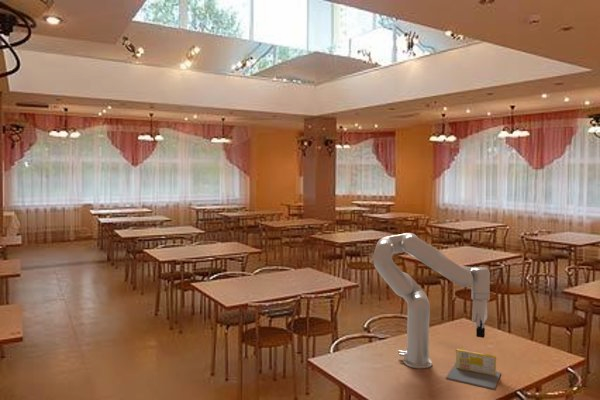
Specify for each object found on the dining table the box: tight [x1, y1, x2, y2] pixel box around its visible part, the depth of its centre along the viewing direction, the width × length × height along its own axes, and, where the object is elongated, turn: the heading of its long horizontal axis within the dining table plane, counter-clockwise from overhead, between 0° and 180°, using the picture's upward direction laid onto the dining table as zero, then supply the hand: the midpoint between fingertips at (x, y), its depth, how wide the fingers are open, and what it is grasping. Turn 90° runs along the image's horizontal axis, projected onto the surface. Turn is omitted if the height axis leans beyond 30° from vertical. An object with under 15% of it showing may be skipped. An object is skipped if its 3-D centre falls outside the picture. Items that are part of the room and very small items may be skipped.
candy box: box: [455, 348, 497, 376], centre depth 201 cm, size 16×2×8 cm, turn 58°
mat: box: [445, 362, 502, 391], centre depth 198 cm, size 19×17×1 cm
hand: (480, 336), depth 205 cm, fingers closed
